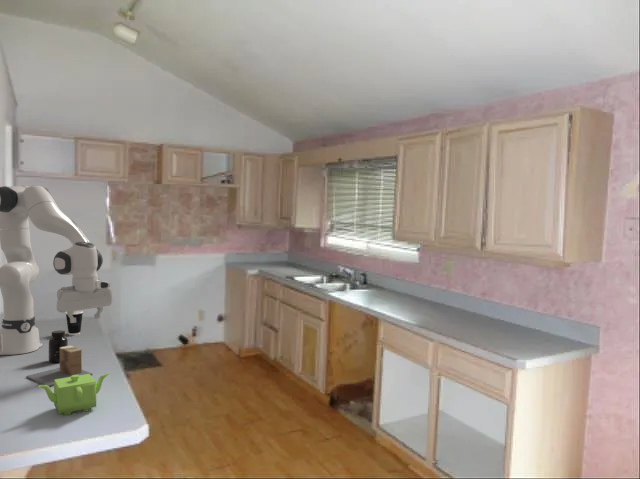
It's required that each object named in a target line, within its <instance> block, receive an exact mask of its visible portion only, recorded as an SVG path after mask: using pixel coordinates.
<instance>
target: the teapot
mask: <svg viewBox="0 0 640 479" xmlns="http://www.w3.org/2000/svg"><path fill="white" fill-rule="evenodd" d="M109 374H110V373H104V374H102V375H100V376H99V378H98V380H95V378H93V375H90V374H85V375H72V376H70V377H67V378H61V379H55V380H54V386H53V391H52V389H51V387H49V386H48V385H42V384H39V385H38V386H37V387H38V388H42V389H44V390H45V393H46V395H47V397H48V399H49V401H50V402H51V403H53V405H54V407H55V410H56V411H57V414H58V415H62V414H63V416H70V415H71V414H72V412H77V411H82V412H88V411H90V409H91V408H96V407H97V394H98V393H99V392H100V390H101V388H102V383H103V381H104V379H105V378H106V377H107V376H108V375H109Z"/></svg>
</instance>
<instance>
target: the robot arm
mask: <svg viewBox="0 0 640 479" xmlns="http://www.w3.org/2000/svg"><path fill="white" fill-rule="evenodd" d="M29 220H30V222H31V223H32V225H34V226H35V227H36V228H37V229H38V230H40V231H43V232H46V233H47V232H48V233H53V234H56V235H60V236H62V237H64V238H65V239H67V240H69V242H70V243H71V244H72V246H70V247H68V248H66V249H63V250H59V251H58V252H56V254H55V255H54V258H53V260H52V262H53V268H54V270H55V271H56V273H57V274H60V275H64V276H67V275H72V276H71V278H72V280H71V282H72V283H71V286H61V288H59V289H58V291H57V292H56V296H57V301H56V310H57V312H59V313H62V314H63V313H66V312H67V315H68V316H69V318H70V323H75V322H76V318H74V317H73V316H72V314H73V311H84V310H88V309H91V310H92V309H97V311H96V313H94V314H93V316H94V317H93V318H94V319H96V320H98V319H100V318H101V314H102V312H103V310H104V307H108V306H109V307H110V306H111V305H112V303H113V292H112V290H111V283H110V282H109V281H106V280H101V279H99V274H98V272H99V270H100V268H101V267H102V265H103V262H104V260H103V259H104V258H103V256H102V254H101V252H100V251H99V250H98V249H97V248H96V245H95V244H93V243H92V242H90V241H89V239H88V238H87V235H85V233H84V232H83V231H82V230H81V228H80V227H79V226H78V225H77V223H76V222H75V221H74V220H72V219H71V218H70V217H68V216H67V215H66V214H65V213H64V212H63V211H62V210H61V209H60V208H59V206H58V205H57V203H56V201H55V199H54V198H53V196H52V194H51V193H50V191H49V189H48V188H46V187H43V186H42V185H13V186H7V185H5V186H4V185H3V186H0V249H1V251H2V252H3V254H4V256H5V259H6V263H4V264H3V265H1V267H0V292H1V293H0V294H1V297H2V300H3V301H2V303H3V319H2V321H1V328H0V356H3V355H7V356H8V355H9V356H10V355H23V354H28V353H31V352H35V351H37V350H38V349H39V348H41V347H43V343H42V342H40V335H39V328H38V327H36V317H35V316H34V315H35V309H34V308H35V307H34V306H35V302H34V298H33V295H32V292H31V289H30V283H32V282H34V281H35V279H36V278H37V277H38V276H39V274H40V268H39V265H38V264H37V262H36V258H35V255H34V252H33V248H32V244H31V242H32V240H31V230H30V222H29Z"/></svg>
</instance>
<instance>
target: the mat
mask: <svg viewBox="0 0 640 479" xmlns="http://www.w3.org/2000/svg"><path fill="white" fill-rule="evenodd" d="M85 374H90V375H91V376H93V373H92V372H89V371H86V370H84V369H82V373H79V374H75V375H85ZM70 376H72V375H68V374H66V373H63V372H61V371H60V367H57V368H51V369H49V370H44V371H41V372H37V373H32V374H28V375H26V379H29V380H31V381H34V382H36V383H37V384H39V385H48V386H49V387H50V388H51V387H54V380H55V379H61V378H67V377H70Z"/></svg>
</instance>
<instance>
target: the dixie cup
mask: <svg viewBox="0 0 640 479" xmlns="http://www.w3.org/2000/svg"><path fill="white" fill-rule="evenodd" d="M64 313H65V318H66V326H67V332H68V335H69V336H78V335H77V334H79V335H81V330H82V323H83V322H82V321H83V313H84V310H77V311H73V314H72V316H73V317H74V318H76V322H75V323H70V318H69V316H68V315H67V312H64Z"/></svg>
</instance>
